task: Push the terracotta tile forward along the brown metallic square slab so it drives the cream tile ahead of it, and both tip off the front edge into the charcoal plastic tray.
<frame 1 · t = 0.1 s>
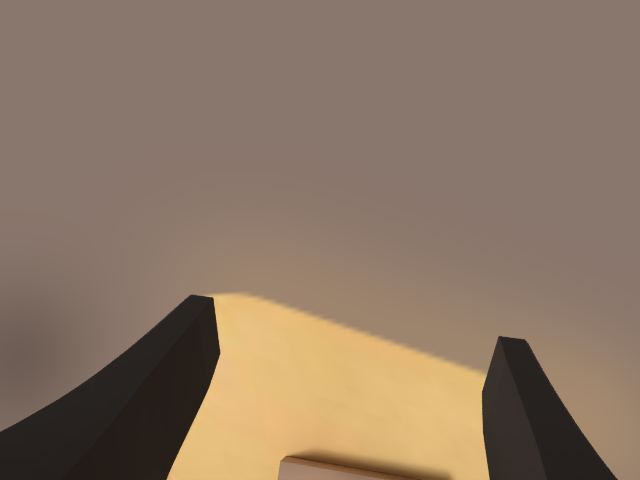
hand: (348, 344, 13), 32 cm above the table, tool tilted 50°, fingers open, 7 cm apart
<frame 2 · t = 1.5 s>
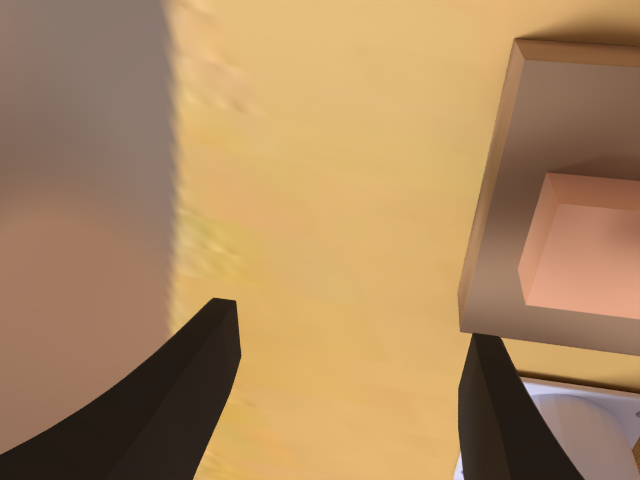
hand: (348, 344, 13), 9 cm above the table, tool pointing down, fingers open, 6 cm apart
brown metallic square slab: (631, 200, 20), on the table
terracotta tile: (591, 230, 18), point 2 cm above the table, touching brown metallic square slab
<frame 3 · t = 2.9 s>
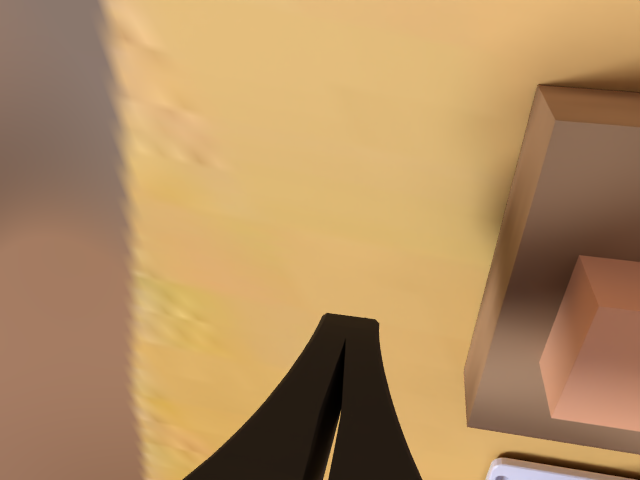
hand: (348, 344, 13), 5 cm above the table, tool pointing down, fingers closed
terracotta tile: (633, 322, 14), point 2 cm above the table, touching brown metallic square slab
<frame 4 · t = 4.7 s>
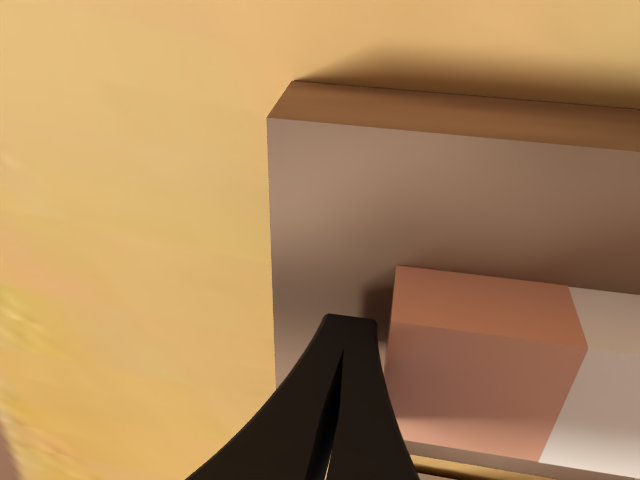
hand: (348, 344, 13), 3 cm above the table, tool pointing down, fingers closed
cream tile: (627, 357, 13), point 3 cm above the table, touching terracotta tile, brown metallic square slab
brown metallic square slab: (472, 278, 16), on the table
terracotta tile: (465, 335, 14), point 3 cm above the table, touching cream tile, gripper
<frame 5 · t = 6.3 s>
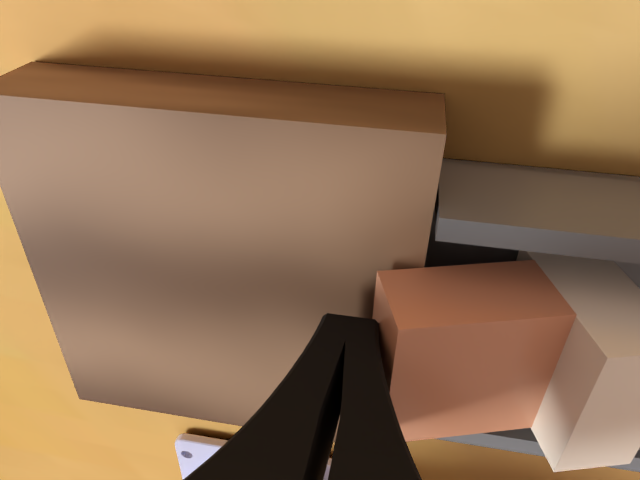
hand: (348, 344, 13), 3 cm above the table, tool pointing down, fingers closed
cream tile: (536, 353, 13), point 3 cm above the table, tilted 107°, touching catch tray
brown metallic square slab: (241, 250, 17), on the table
terracotta tile: (444, 324, 14), point 2 cm above the table, tilted 18°, touching gripper, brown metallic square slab
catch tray: (576, 291, 15), on the table
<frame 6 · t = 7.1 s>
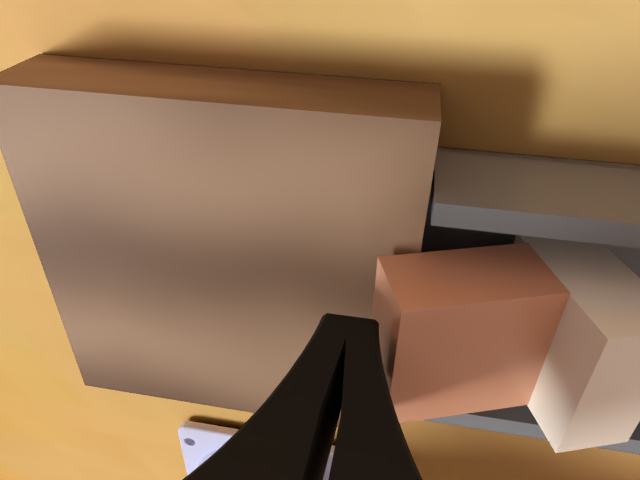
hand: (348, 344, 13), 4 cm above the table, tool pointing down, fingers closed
cream tile: (535, 338, 14), point 3 cm above the table, tilted 110°, touching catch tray, terracotta tile
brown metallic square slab: (242, 238, 17), on the table
terracotta tile: (442, 308, 14), point 2 cm above the table, tilted 20°, touching cream tile, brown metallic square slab
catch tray: (570, 277, 16), on the table
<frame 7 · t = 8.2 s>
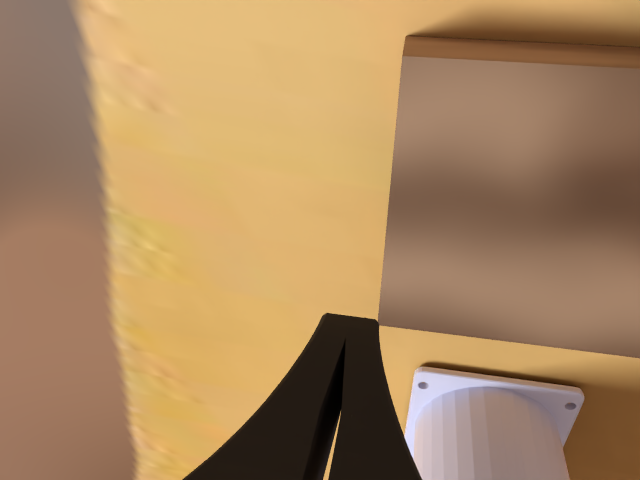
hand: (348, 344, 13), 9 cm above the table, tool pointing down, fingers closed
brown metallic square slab: (536, 192, 20), on the table
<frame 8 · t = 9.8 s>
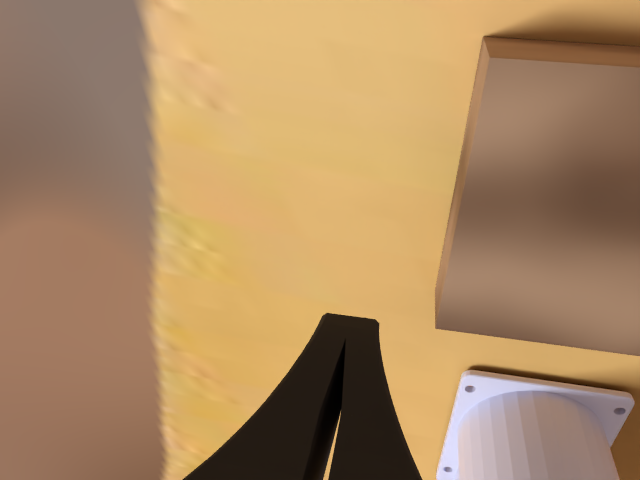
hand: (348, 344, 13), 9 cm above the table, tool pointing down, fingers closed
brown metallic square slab: (603, 197, 20), on the table
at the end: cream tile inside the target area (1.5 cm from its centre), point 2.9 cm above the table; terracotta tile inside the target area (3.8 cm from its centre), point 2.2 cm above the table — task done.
